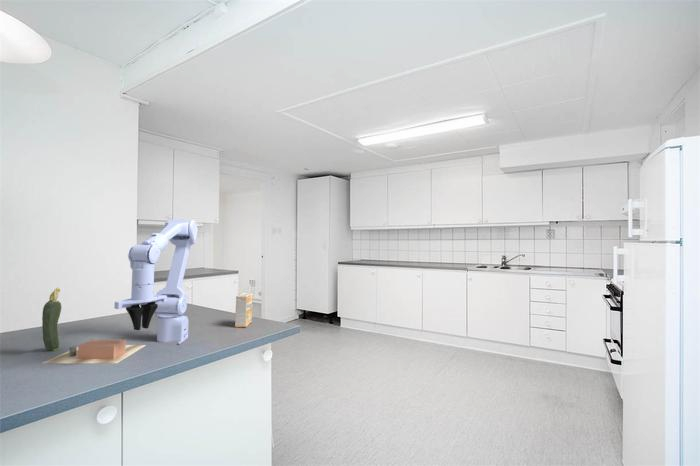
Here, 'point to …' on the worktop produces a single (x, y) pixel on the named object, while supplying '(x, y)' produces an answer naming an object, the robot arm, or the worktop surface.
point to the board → (73, 358)
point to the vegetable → (51, 321)
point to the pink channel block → (101, 349)
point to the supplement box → (243, 309)
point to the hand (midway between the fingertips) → (141, 328)
